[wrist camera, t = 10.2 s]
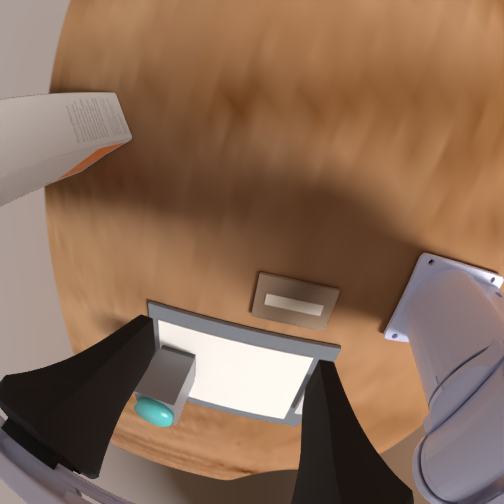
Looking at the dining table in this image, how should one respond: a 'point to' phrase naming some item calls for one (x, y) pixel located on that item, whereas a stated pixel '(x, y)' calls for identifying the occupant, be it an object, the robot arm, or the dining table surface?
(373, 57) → the dining table surface
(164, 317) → the clipboard
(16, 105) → the skincare box
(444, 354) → the robot arm
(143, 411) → the teal-capped grey stamp
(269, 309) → the word placard
